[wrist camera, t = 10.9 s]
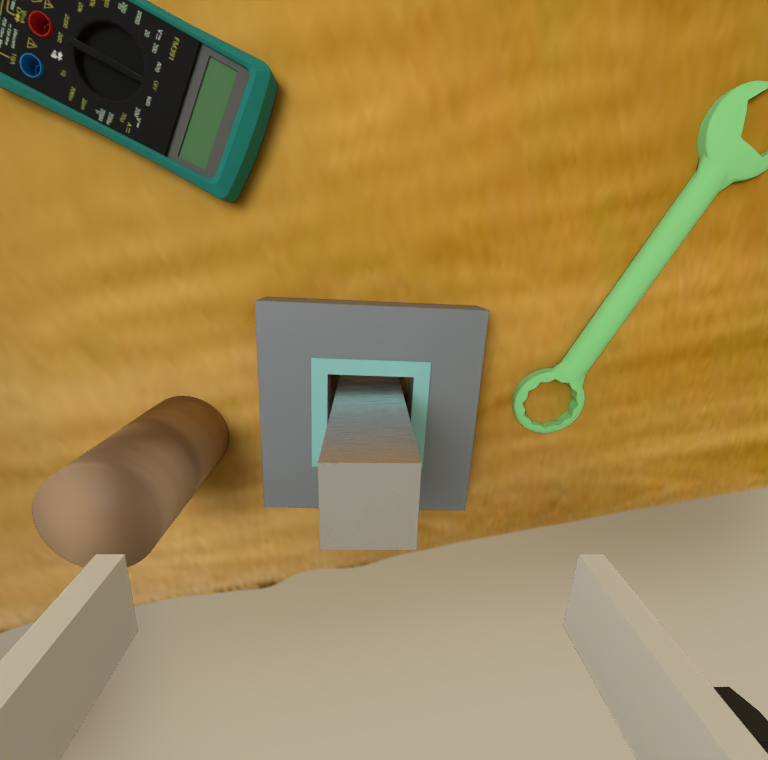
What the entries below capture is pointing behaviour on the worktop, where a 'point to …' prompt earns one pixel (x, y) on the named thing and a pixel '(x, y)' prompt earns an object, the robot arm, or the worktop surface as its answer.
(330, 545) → the square bit
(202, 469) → the round dowel
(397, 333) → the socket plate
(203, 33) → the digital multimeter
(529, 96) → the worktop surface
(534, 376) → the wrench
